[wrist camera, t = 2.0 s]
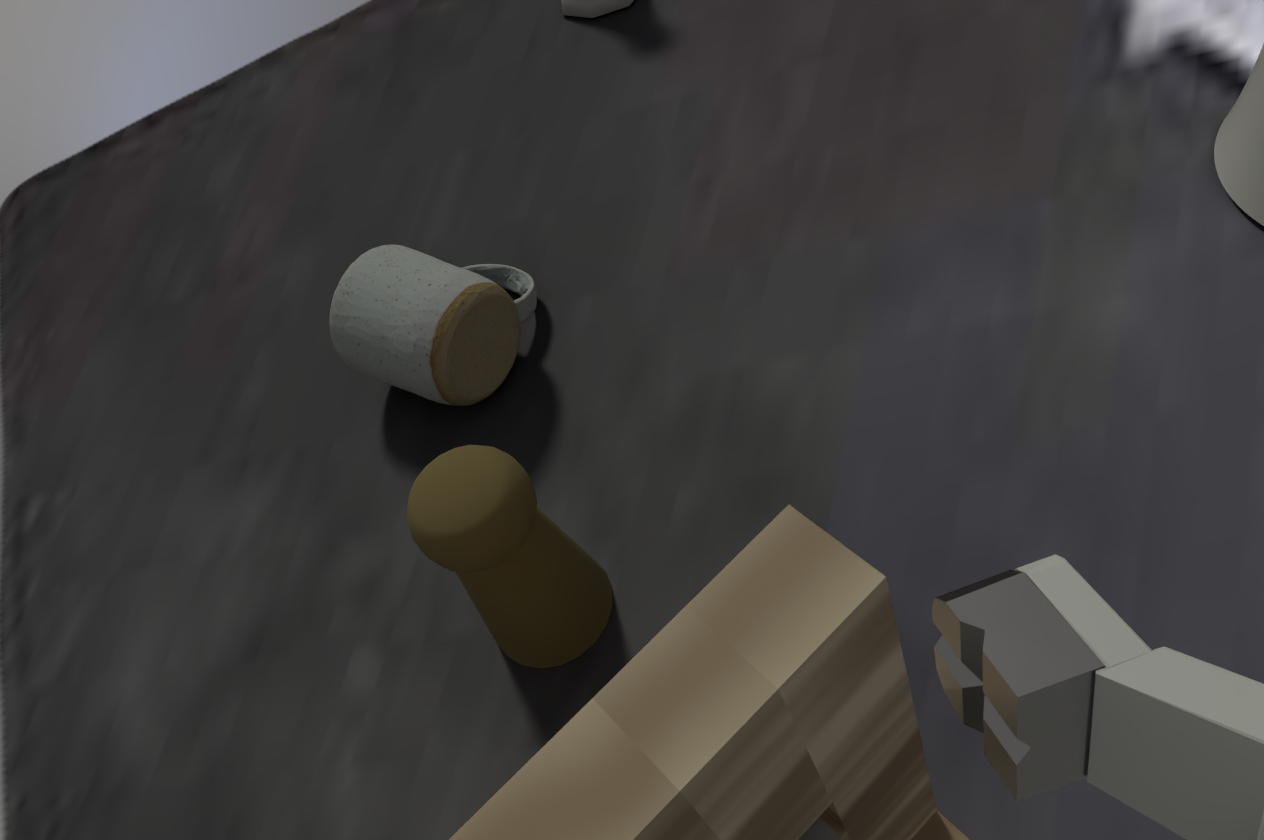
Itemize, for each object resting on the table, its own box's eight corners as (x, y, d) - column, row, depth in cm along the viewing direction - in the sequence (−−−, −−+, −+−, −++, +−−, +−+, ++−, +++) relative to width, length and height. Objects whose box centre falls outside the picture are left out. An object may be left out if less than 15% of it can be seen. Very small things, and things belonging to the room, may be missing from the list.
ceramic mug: (474, 439, 56) (412, 349, 51) (370, 399, 61) (301, 312, 55) (577, 299, 61) (530, 201, 55) (472, 271, 65) (419, 177, 59)
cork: (505, 551, 51) (404, 426, 43) (621, 548, 50) (539, 416, 41) (480, 668, 48) (365, 556, 40) (603, 669, 46) (510, 552, 38)
